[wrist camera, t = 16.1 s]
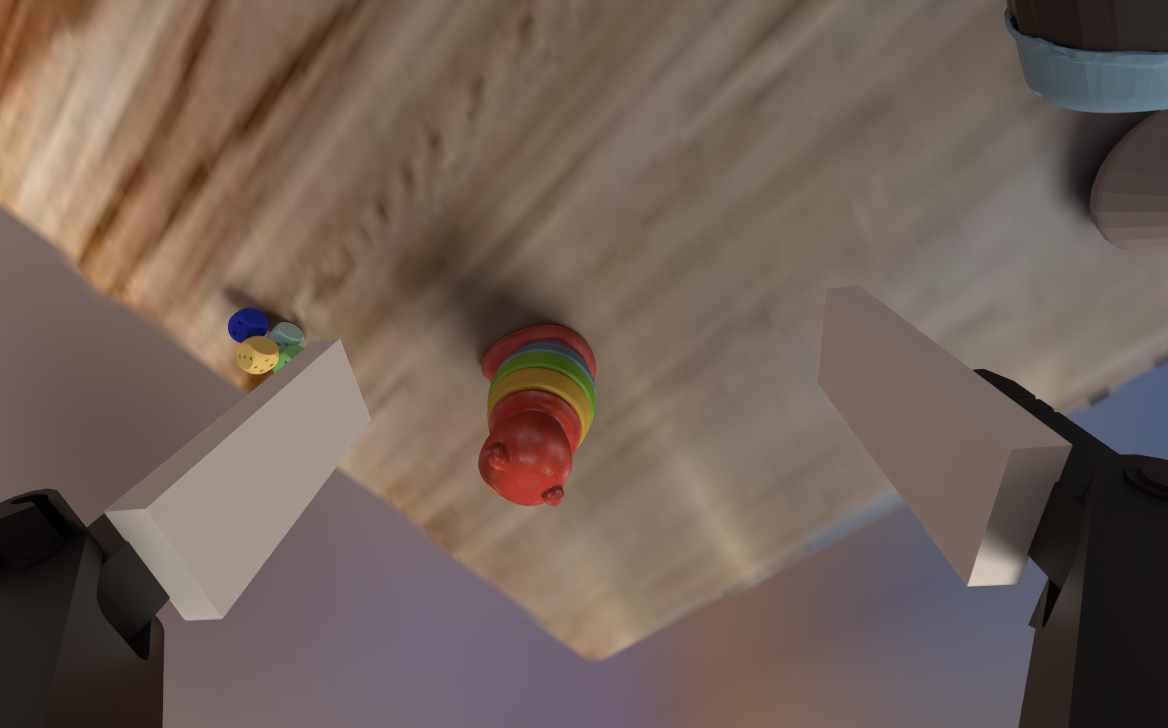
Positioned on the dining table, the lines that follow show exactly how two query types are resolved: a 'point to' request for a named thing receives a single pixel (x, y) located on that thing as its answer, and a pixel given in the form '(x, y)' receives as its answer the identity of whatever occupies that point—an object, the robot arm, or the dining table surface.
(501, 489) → the stacking bear
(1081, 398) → the dining table surface
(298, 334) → the dice
